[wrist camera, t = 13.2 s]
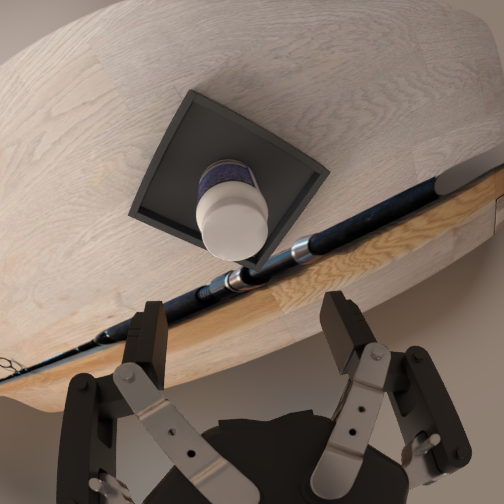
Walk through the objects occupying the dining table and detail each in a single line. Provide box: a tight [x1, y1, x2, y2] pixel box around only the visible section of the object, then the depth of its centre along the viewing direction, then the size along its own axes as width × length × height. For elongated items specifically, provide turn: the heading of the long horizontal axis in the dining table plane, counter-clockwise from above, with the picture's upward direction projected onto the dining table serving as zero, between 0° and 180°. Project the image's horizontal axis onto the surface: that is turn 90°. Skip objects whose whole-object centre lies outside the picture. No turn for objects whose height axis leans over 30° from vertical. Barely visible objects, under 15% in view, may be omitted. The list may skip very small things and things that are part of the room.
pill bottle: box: [196, 159, 268, 261], centre depth 24 cm, size 6×6×10 cm
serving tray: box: [128, 90, 330, 272], centre depth 28 cm, size 16×14×2 cm
